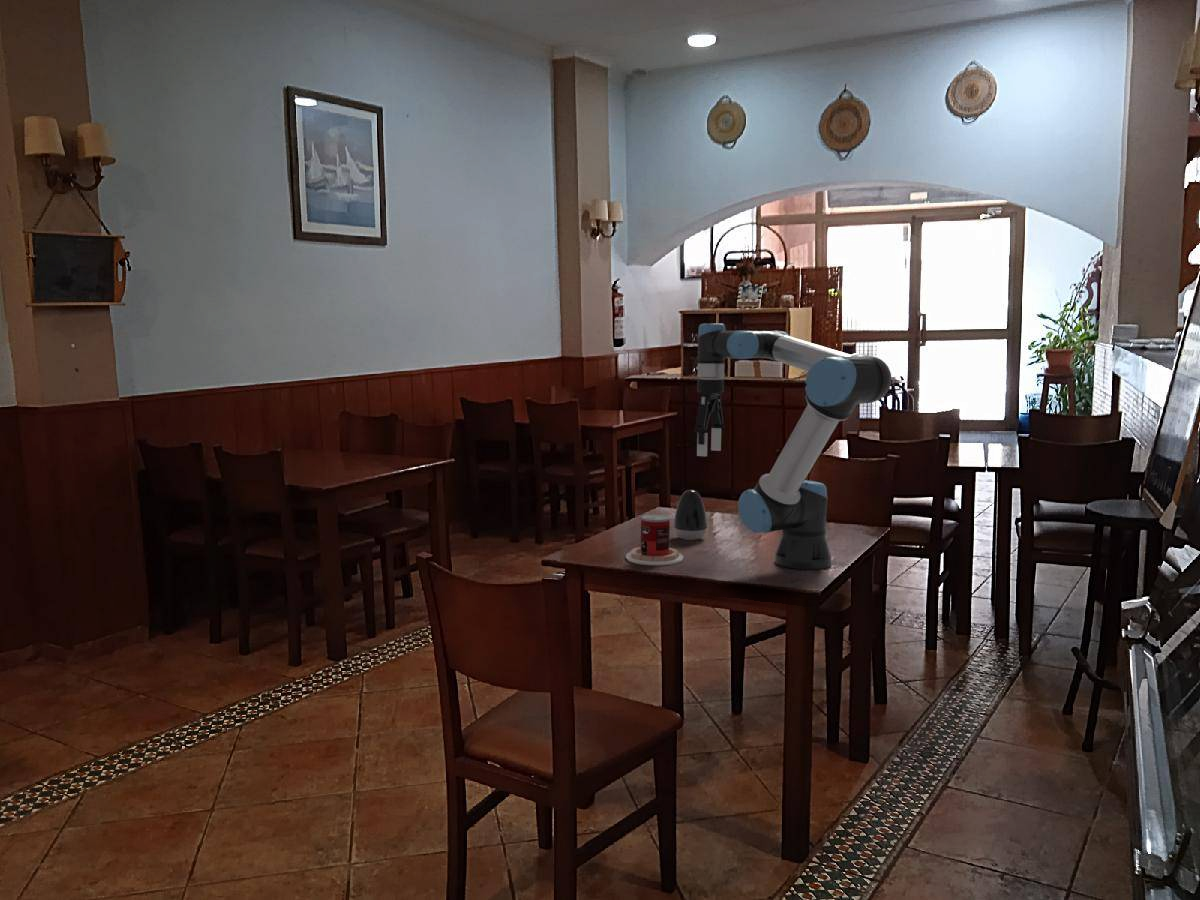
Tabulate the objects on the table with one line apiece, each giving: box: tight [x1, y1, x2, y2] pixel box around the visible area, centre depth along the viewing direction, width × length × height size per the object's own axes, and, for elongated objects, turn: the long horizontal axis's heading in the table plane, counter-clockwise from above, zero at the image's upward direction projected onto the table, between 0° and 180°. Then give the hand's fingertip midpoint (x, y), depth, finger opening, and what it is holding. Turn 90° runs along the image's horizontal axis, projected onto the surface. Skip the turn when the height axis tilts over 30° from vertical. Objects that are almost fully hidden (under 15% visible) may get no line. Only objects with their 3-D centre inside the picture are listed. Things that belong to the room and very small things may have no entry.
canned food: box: [640, 514, 671, 556], centre depth 267 cm, size 8×8×11 cm
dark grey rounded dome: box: [673, 489, 708, 541], centre depth 292 cm, size 10×10×15 cm
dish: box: [625, 546, 684, 567], centre depth 267 cm, size 16×16×2 cm
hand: (709, 453), depth 272 cm, fingers open, 13 cm apart
